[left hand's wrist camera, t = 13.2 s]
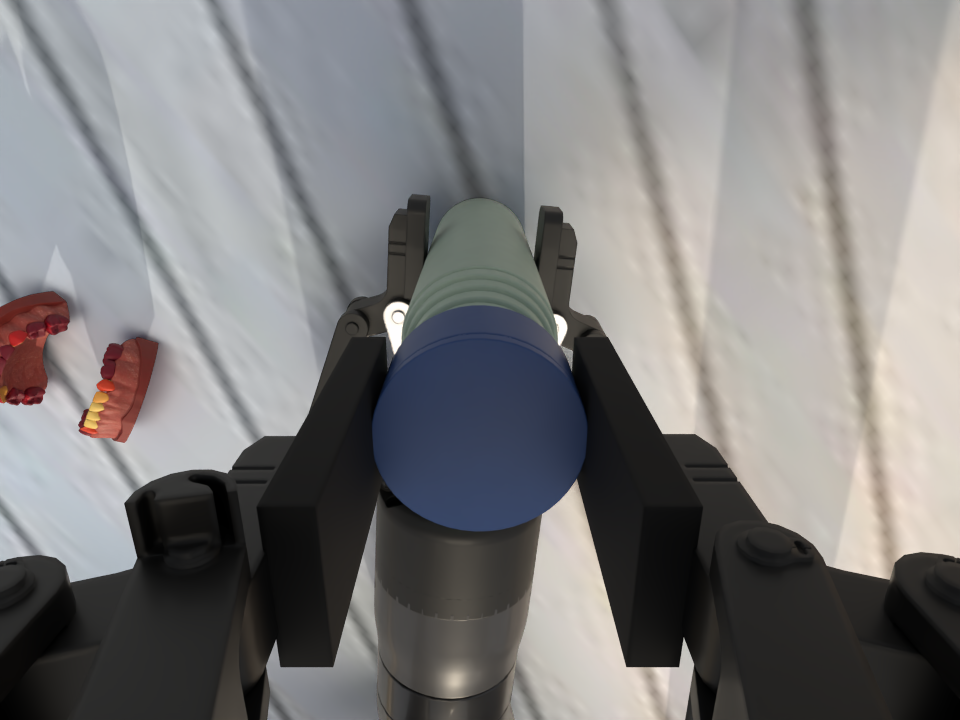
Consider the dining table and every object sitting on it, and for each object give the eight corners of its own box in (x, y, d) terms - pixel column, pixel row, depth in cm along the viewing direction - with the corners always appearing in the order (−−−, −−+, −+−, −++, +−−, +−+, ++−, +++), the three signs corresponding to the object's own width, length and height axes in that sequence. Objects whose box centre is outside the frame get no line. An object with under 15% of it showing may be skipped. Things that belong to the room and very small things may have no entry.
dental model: (105, 477, 30) (-65, 401, 29) (147, 438, 34) (0, 369, 33) (146, 382, 29) (-32, 297, 28) (185, 352, 33) (32, 277, 32)
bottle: (501, 181, 30) (533, 290, 12) (539, 264, 31) (621, 474, 13) (418, 223, 30) (329, 386, 12) (459, 302, 32) (433, 551, 14)
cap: (523, 270, 14) (531, 299, 11) (602, 429, 15) (622, 481, 13) (351, 355, 14) (328, 398, 12) (442, 500, 16) (436, 561, 14)
